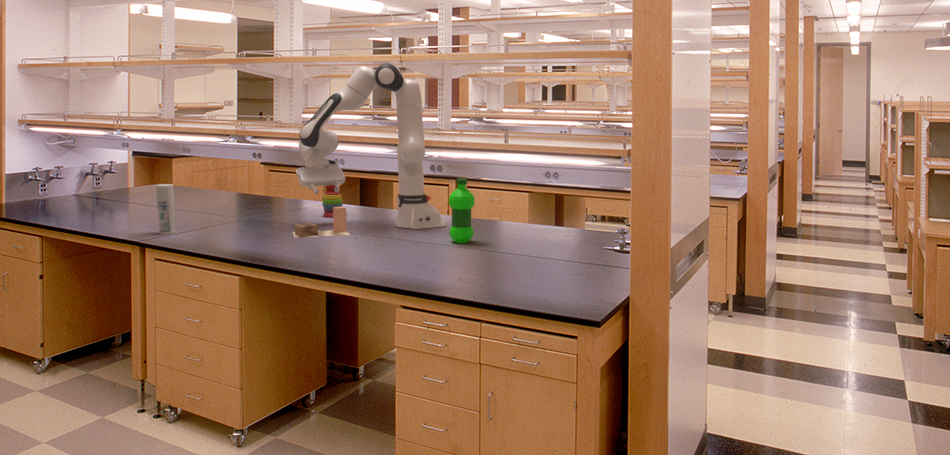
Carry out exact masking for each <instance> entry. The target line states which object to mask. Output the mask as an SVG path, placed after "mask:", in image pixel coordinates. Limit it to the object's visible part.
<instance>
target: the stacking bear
mask: <svg viewBox="0 0 950 455" xmlns="http://www.w3.org/2000/svg"><path fill="white" fill-rule="evenodd" d="M335 187H336V186H335V185H325V192H324V194H323V197H322V207H323V211H324V212H323V214H322V215H323V217H324V218H329V219H331V218H332V219H333V207H341V206H342V207H343V204H344V203H343V202H344V201H343V196H342V193H341V191H340V190H341V187H342V184H340V185H339V192H335V191H334V188H335ZM346 216H347V212H346Z"/></svg>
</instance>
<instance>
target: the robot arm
mask: <svg viewBox="0 0 950 455" xmlns="http://www.w3.org/2000/svg"><path fill="white" fill-rule="evenodd" d="M376 88H382V89H383V90H386V91H391V92H393V93H394V95H395V100H396V103H395V105H396V123H397V124H396V125H397V135H398V143H397V148H396V151H397V152H396V153H397V154H396V155H397V156H396V157H397V171H398V172H397V173H398V194H397V216H396V217H397V218H396V221H395V227H396V228H397V227H398V228H402V229H403V228H404V229H413V230H421V229H430V228H431V229H432V228H434V229H435V228H441V227H446V226H447V223H446V222H445V221H444V220H443V219H442V217H441V216H442V215H441V213H440V211H439V209H437V208H436V207H435V206H433V205H432V204H431V203H429V201H431V195H427V194H425V193H424V192H425V178H424V167H423V160H424V157H425V155H426V143H425V132H424V131H425V130H424V124H423V123H424V121H423V100H422V93H421V87H420V84H419V83H418V81H416V80H415V79H410V78H406V77H404V76H403V73H402V71H401V69H400V68H399V67H398V66H397V65H396V64H394V63H389V62H385V63H382V64H380V65H379V66H377V68H376V69H373V68H371V67H369V66H366V65H361V66H359V67H358V68H357V69H355V70H354V72H353V73H352V74H351V76H350V77H349V78H348V80H347V81H346V83H345V84H344V85H343V87H341V89H340V90H339V91H338V92H336V93H333V94H331V95H330V96H328V98H327V99H326V100H325V101H324V102H323V104H322V105H321V106H320V107H319V108H318V110H317V111H316V112H315V113H314V114H313V116H312V117H311V118H310V119H309V120H308V121H307V122H306V123H305V124H303V125H302V127H301V128H300V131H299V133H298V135H299V140H298V149H299V152H300V155H301V158H302V160H303V161H304V165H305V166H304V167H298V168H296V169H295V174H296V176H297V179H298V184H299V186H300V187H302V188H306V187H308V188H309V189H310V190H312V191H313V193H314V194H319V193H320V190H319V188H318V187H323V186H325V185H335V186H336V187H335V188H334V191H335V192H339V191H340V189H339V185H340V184H341V185H343V184H344V183H345V181H346V175H345V174H344V172H343V169H342V168H341V167H340V166H339V163H338V162H339V161H336V160H332V159H329V158H325V157H327V156H330V154H332V153H333V152H335V151H336V150H337V148H338V146H339V136H338V135H337V134H336V133H335V132H333V131H331V130H329V129H326V128H324V126H325V125H326V123H327V122H328V121H329V120H330V119H331V117H332V116H333V115H334V114H335V113H337V112H340V111H341V112H342V111H356V110H358V109H361V108H362V107H363V106H364V104H365V103H367V102H366V101H367V100H368V99H369V97H370V95H371V94H372V92H373V91H374V90H375V89H376Z"/></svg>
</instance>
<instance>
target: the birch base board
mask: <svg viewBox="0 0 950 455" xmlns="http://www.w3.org/2000/svg"><path fill="white" fill-rule="evenodd" d="M292 234H293V237H294V238H295V239H297V238H302V237H301V236H298V235H296V234H295V231H292ZM333 236H334V237H336V236H339V237H340V236H351V234H350V232H349V231H348V230H347V231H346V232H335V231H334V229H330V230H329V229H326V230H318V235H315V236H306V237H305V238H316V237H333Z"/></svg>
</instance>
